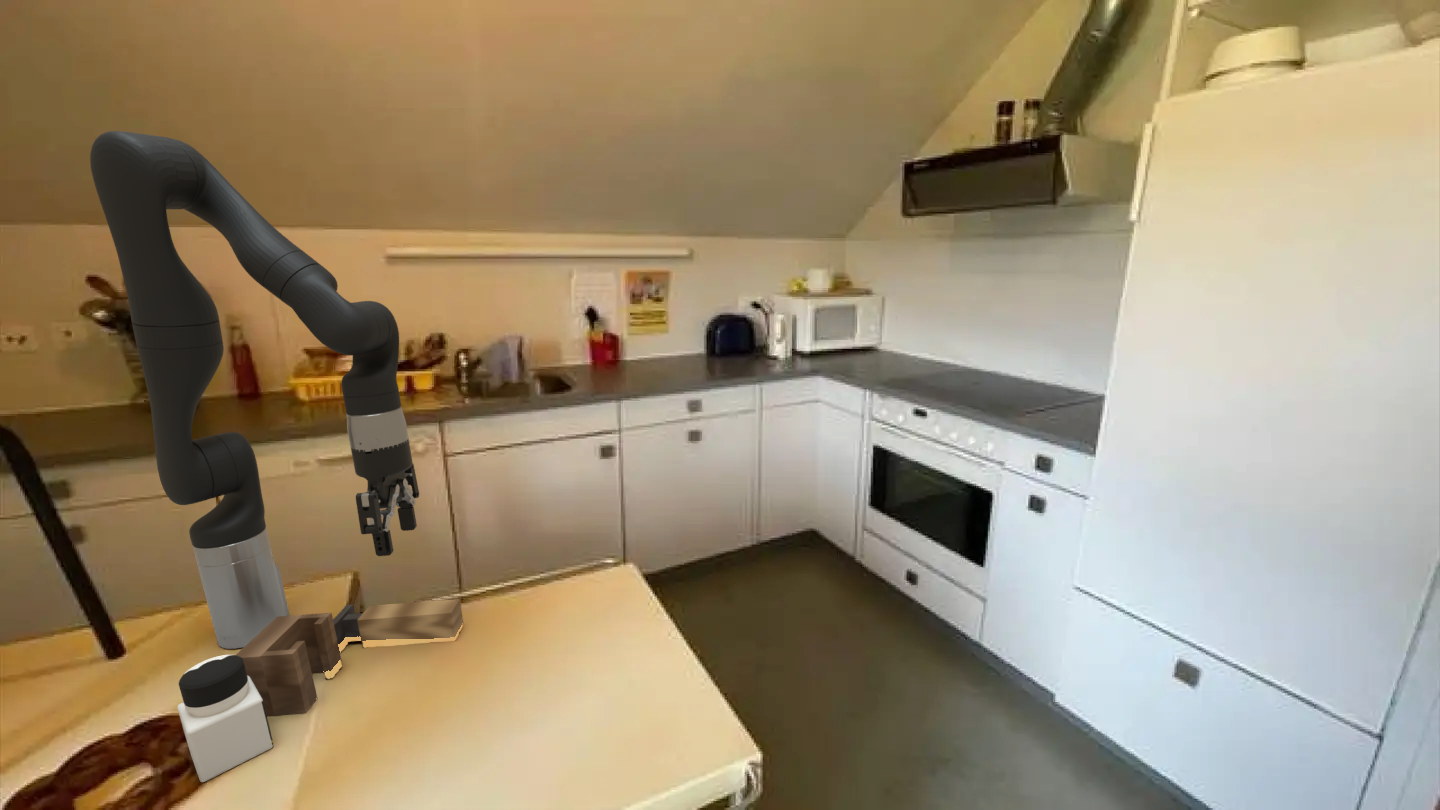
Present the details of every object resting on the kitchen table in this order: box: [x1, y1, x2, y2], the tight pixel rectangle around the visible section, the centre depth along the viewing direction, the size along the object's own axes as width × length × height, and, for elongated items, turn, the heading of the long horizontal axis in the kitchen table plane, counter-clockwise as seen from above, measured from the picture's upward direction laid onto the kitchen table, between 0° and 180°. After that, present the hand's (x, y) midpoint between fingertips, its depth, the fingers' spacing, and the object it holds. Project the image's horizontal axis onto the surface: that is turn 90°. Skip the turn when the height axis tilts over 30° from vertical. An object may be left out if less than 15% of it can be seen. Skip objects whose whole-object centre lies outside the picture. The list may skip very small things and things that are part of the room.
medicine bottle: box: [177, 654, 274, 783], centre depth 74 cm, size 7×7×12 cm
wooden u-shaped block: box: [235, 612, 342, 717], centre depth 84 cm, size 8×10×9 cm
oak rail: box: [333, 598, 464, 644], centre depth 96 cm, size 18×6×5 cm, turn 95°
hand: (397, 541), depth 93 cm, fingers open, 8 cm apart
